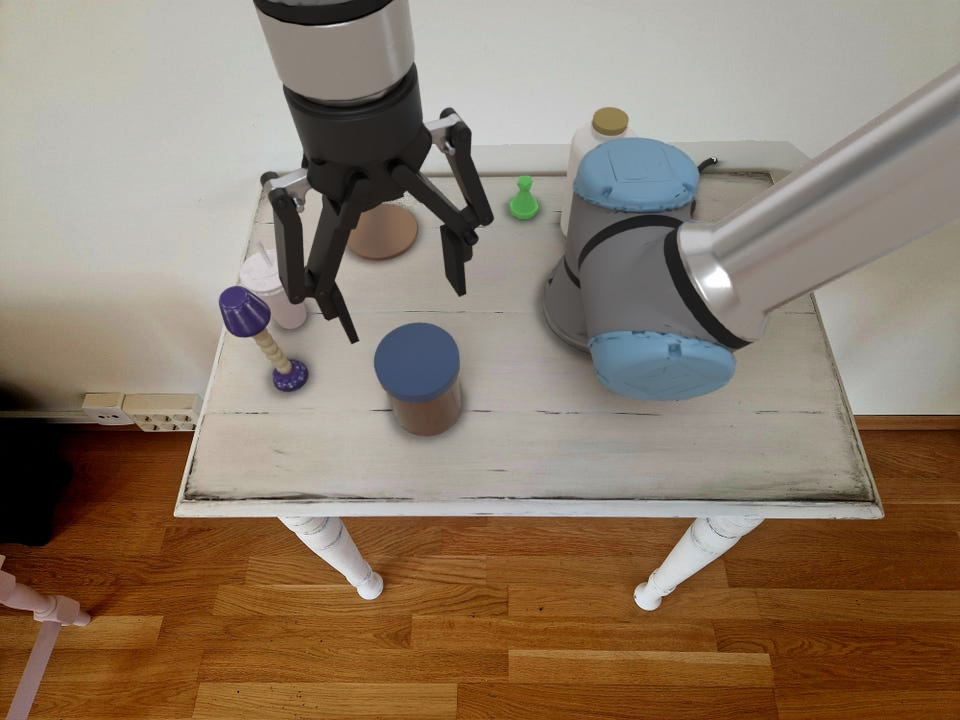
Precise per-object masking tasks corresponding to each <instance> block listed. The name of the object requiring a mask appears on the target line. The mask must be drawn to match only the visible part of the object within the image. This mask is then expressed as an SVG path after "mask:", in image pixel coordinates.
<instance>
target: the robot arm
mask: <svg viewBox="0 0 960 720" xmlns="http://www.w3.org/2000/svg"><path fill="white" fill-rule="evenodd" d="M252 3H253V5H254V8H255V12H256V14H257V18H258V21H259V23H260V26H261V29H262V32H263V35H264V39H265V41H266V44H267V47H268V50H269V54H270V56H271V59H272V63H273V65H274V68H275V71H276V73H277V76H278V79H279V80H280V81H281V82H282V91H283V95H284V98H285V101H286V103H287V107H288V109H289V112H290V115H291V118H292V121H293V124H294V127H295V129H296V133H297V135H298V138H299V141H300V144H301V147H302V159H301V161H300V162H301V163H300V168H298V169H296V170H293V171H290V172H289V173H287V174H284V175H281V176H280V175H279V174H278V173H277V172H275V171H270V170H268V171H265V172H264V173H263V174H261V176H260V177H259V182H260V184H261V187H262V189H263V191H264V194H265V195H266V197H267V199H268V201H269V203H270V205H271V208H272V219H273V228H274V229H273V230H274V239H275V249H276V252H277V263H278V273H279V279H280V282H281V284H282V286H283V289H284V291H285V293H286V295H287V297H288V299H289V302H290V303H291V304H294V305H297V304H300V303H302V302H303V303H304V301H306V299H314V300H315V302H316V304H317V306H318V308H319V310H320V313H321V315H322V316H323V319H324V320H326V321H327V322H330V321H332V320H334V319H337V318H338V321H339V322H340V325H341V326H342V328H343V330H344V333H345V334H346V336H347V340H349V343H350V344H351V345H354V344H357V343H358V342H360V337H359V335H358V333H357V331H356V328H355V325H354V322H353V320H352V317H351V314H350V312H349V310H348V309H349V308H348V306H347V304H346V301H345V299H344V296H343V293H342V291H341V290H340V287H339V286H338V284H337V282H336V278H337V275H338V272H339V270H340V267H341V263H342V261H343V257H344V254H345V251H346V247H347V242H348V239H349V236H350V233H351V230H355V229H356V227H357V225H358V222H359V219H360V216H361V212H362V213H363V212H366V211H369V210H371V209H374V208H375V207H377V206H378V205H380V204H384V203H388V202H394V201H398V200H400V199H403V198H405V193H406V192H407V193H408V194H409V195H411V196H412V198H414V199H415V200H416V201H417V202H418V203H419V204H422V205H423V206H424V207H426V208H427V209H428V210H429V211H430V212H431V213H432V214H433V215H434V216H436V218H438V219H439V220H440V221H441V222H442V223H443V224H441V225H439V232H440V241H441V248H442V250H441V251H442V258H443V267H444V274H445V278H446V280H447V281H448V283H449V284H450V286H451V287H452V289H453V290H454V292H455V294H456V295H457V297H458V298H461V297H464V296H465V295H467V283H466V282H467V280H466V269H465V268H466V267H465V263H467V262H470V261H472V259H473V256H474V251H473V250H474V249H473V247H474V246H475V245H477V244H478V242H479V240H480V237H479V235H478V233H477V232H476V231H475V230H476V229H478V228H479V227H480V226H482V227H488V226H490V225H491V224H492V223H493V222H494V220H495V215H494V213H493V210H492V207H491V205H490V203H489V200H488V196H487V193H486V192H485V188H484V186H483V183H482V181H481V177H480V176H479V173H478V170H477V168H476V165H475V161H474V160H473V157H472V141H473V140H472V138H473V133H472V130H471V128H470V127H469V126H468V125H467V123H466V122H465V121H464V120H463V118H462V117H461V116H460V115H459V113H458V112H457V111H456V109H454V108H453V107H450V106H449V107H445V108H443V109H442V111H441V112H440V114H439V119H436V120H432V121H428V122H424V113H423V106H422V105H423V104H422V97H421V90H420V81H419V74H418V68H417V64H416V62H415V59H416V47H415V39H414V32H413V24H412V17H411V11H410V4H409V0H252ZM433 145H435V147H437V149H438V150H439V151H440V153H442V154H444V155H445V158H446V160H447V162H448V165H449V166H450V169H451V172H452V174H453V176H454V179H455V181H456V184H457V186H458V188H459V190H460V193H461V195H462V197H463V199H464V202H465V204H466V206H465V207H463V208H462V209H459V208H458V207H457V206H456V205H455V204H454V203H453V202H452V201H451V200H450V199H449V198H448V197H447V196H446V195H445V194H444V193H443V192H442V191H441V190H440V189H439V188H438V187H437V186H436V185H435V184H434V183H433V182H432V181H431V180H430V179H429V178H428V177H427V176H426V175H425V174H424V173H423V172H422V171H421V169H422V167H423V165H424V163H425V161H426V159H427V157H428V155H429V153H430V151H431V149H432V146H433ZM708 158H709V159H708ZM708 158H706V159H707V160H706V159H705V160H703V161H702V162H701V163H700V164H699V165H696V163H695V161H694V160H693V159H692V158H691V157H690V156H689V154H687V153H686V152H685V151H683V150H682V149H680V148H679V147H677V146H674V145H672V144H668V143H665V142H663V141H662V140H658V139H653V138H649V137H639V136H638V137H629V138H619V139H614V140H610V141H607V142H604V143H601V144H599V145H598V146H596V147H595V148H594V149H592V150H590V151H589V152H587V153H586V155H585V156H584V157H583V158H582V160H581V162H580V164H579V166H578V170H577V175H576V178H575V179H574V181H573V190H574V191H573V198H572V204H571V211H570V218H569V225H568V232H567V238H566V237H565V238H566V240H565V248H564V254H563V255H562V257H561V258H560V259H559V261H558V262H557V264H556V265H555V267H554V268H553V269H552V271H551V272H550V273H549V276H548V277H547V279H546V282H545V285H544V290H543V298H542V307H543V314H544V316H545V320H546V321H547V323H548V325H549V327H550V329H551V330H552V331H553V332H554V334H556V335H557V337H559V338H560V339H561V340H562V341H563V342H565V343H567V344H568V345H569V346H571V347H573V348H575V349H577V350H579V351H582V352H584V353H588V354H591V359H592V363H593V364H592V365H593V368H594V373H595V376H596V378H597V380H598V382H599V383H600V384H601V385H602V386H603V387H604V388H605V389H607V391H610V392H611V393H612V394H615V395H618V396H620V397H623V398H627V399H631V400H635V401H636V400H637V401H642V402H643V401H644V402H675V401H683V400H689V399H694V398H697V397H702V396H705V395H708V394H710V393H713V392H716V391H718V390H720V389H721V388H723V387H725V386H726V385H727V384H729V382H730V381H731V379H733V378H734V376H735V373H736V366H737V364H736V363H737V358H736V357H735V355H734V353H736V352H738V351H739V350H741V349H743V348H745V347H747V346H749V345H751V344H753V343H755V342H758V341H759V340H761V339H762V338H764V336H765V334H766V332H767V328H768V326H769V325H768V324H769V322H770V319H771V315H772V314H773V313H775V312H776V311H777V310H780V309H782V308H784V307H786V306H788V305H789V304H790V305H791V303H793V302H795V301H798V300H800V299H802V298H804V297H807V296H808V295H810V294H811V293H813V292H816V291H818V290H820V289H822V288H823V287H825V286H828V285H830V284H832V283H833V282H835V281H838V280H840V279H841V278H843V277H846V276H847V275H849V274H852V273H853V272H855V271H857V270H860V269H861V268H863V267H865V266H867V265H870V264H872V263H873V262H875V261H878V260H879V259H882V258H883V257H885V256H888V255H889V254H891V253H893V252H895V251H897V250H900V249H902V248H903V247H905V246H908V245H909V244H911V243H913V242H916V241H917V240H919V239H921V238H923V237H925V236H927V235H929V234H931V233H932V232H935V231H937V230H939V229H941V228H943V227H945V226H946V225H949V224H950V223H953V222H955V221H956V220H958V219H960V61H958V62H957V63H956V64H955V65H953V66H951V67H950V68H949V69H947V70H945V71H944V72H943V73H941V74H939V75H938V76H936V77H934V78H933V79H931V80H930V81H928V82H927V83H925V84H924V85H923V86H921V87H920V88H918V89H916V90H915V91H914V92H912V93H910V94H909V95H907V96H906V97H904V98H903V99H901V100H900V101H898V102H897V103H895V104H893V105H892V106H890V107H889V108H887V109H886V110H884V111H883V112H881V113H880V114H878V115H877V116H876V117H874V118H873V119H871V120H870V121H868V122H867V123H865V124H863V125H862V126H861V127H859V128H857V129H856V130H854V131H853V132H851V133H849V135H847V136H845V137H843V138H842V139H841V140H839V141H838V142H836V143H834V144H833V145H831V146H829V148H827V149H826V150H824V151H823V152H820V154H818V155H817V156H815V157H814V158H812V159H811V160H809V161H807V162H805V163H804V164H803V165H801V166H799V167H798V168H797V169H795V170H794V171H792V172H791V173H789V174H788V175H786V176H785V177H783V178H782V179H780V180H778V181H777V182H775V183H774V184H772V185H771V186H770V187H768V188H766V189H765V190H764V191H762V192H760V193H759V194H757V195H756V196H754V197H752V199H751V198H750V200H748V201H747V202H745V203H744V204H742V205H741V206H739V207H738V208H736V209H735V210H733V211H732V212H730V213H728V214H727V215H726V216H723V218H721V219H720V220H718V221H717V222H709V221H708V222H707V221H701V220H695V219H692V215H694V212H695V211H696V206H697V201H696V198H697V195H698V194H699V184H700V174H701V173H702V172H703V170H705V169H706V168H708V167H709V166H711V165H712V164H714V165H715V164H717V163H718V162H719V160H718V158H717V157H716V161H715V162H714V159H712V158H711V157H708ZM311 189H312V190H314V191H315V192H317V193H319V194H321V203H322V206H321V207H322V208H321V210H320V214H319V218H318V222H317V226H316V230H315V233H314V236H313V240H312V244H311V248H310V250H309V254H308V258H307V262H306V265H305V251H304V248H305V247H304V229H303V222H302V218H301V216H300V214H301V213H303V212H304V211H305V205H306V202H307V201H306V194H307V193H308V192H309V191H310V190H311Z"/></svg>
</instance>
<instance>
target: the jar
mask: <svg viewBox="0 0 960 720" xmlns="http://www.w3.org/2000/svg"><path fill="white" fill-rule="evenodd" d="M385 392H386V391H385ZM386 395H387V398H388V401H389V403H390V406H391V410H392V412H393V414H394V417H395V420H396V422H397V423H398V425H399V426H400V427H401V428H402V429H403V430H405V431H406V432H408V433H410V434H411V435H414V436H418V437H433V436H437V435H441V434H442V433H444V432H446V431H448V430H449V429H450V428H451V427H452V426H454V424H455V423H456V421H458V419H459V417H460V414H461V411H462V395H461V387H460V379H459V376H458V377H457V379H456V381H455V383H454V384H453V385H452V387H451V388H450V389H449V390H448V391H447V392H446V393H444V394H443V395H441V396H440V397H438V398H436V399H434V400H431V401H427V402H422V403H408V402H403V401H400V400H398V399H396V398H394V397H392V396H391V395H389V394H388V393H387V392H386Z"/></svg>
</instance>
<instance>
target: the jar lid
mask: <svg viewBox="0 0 960 720" xmlns="http://www.w3.org/2000/svg"><path fill="white" fill-rule="evenodd" d="M373 368H374V372H375V375H376V377H377V380H378V382H379V384H380V386H381V388H382V389H383V390H384V391H385V392H387V393H388V394H389V395H391V396H392V397H394V398H396V399H398V400H400V401H403V402H408V403H422V402H427V401H431V400H434V399H436V398H438V397H440V396H441V395H443V394H444V393H446V392H447V391H448V390H449V389H450V388H451V387H452V385H453V384H454V383H455V381H456V379H457V377H459V373H460V369H461V359H460V349H459V347H458V344H457V341H456V340H455V339H454V337H453V336H452V335H451V334H450V333H449V332H448V331H447V330H446V329H444V328H442V327H440V326H438V325H436V324H433V323H430V322H429V323H428V322H419V321H418V322H410V323H406V324H403V325H399V326H398V327H396V328H394V329H392V330H391V331H389V332H388V333H387V334H386V335H384V337H383V338H382V339H381V340H380V342H379V343H378V344H377V347H376V348H375V351H374V355H373ZM387 393H386V394H387Z"/></svg>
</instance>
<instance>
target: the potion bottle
mask: <svg viewBox="0 0 960 720" xmlns="http://www.w3.org/2000/svg"><path fill="white" fill-rule="evenodd" d="M629 121H630V119H629V116H628V114H627V113H626V112H625V110H622V109H621V108H618V107H613V106H607V107H601V108H599V109H597V110H596V111H595V112H594V113H593V115H592V119H591V121H589V122H586V123H584V124H583V125H582V126H580V127H579V128H578V129H576V130H575V132H574V134H573V135H572V138H571V141H570V148H569V156H568V163H567V171H566V179H565V185H564V192H563V200H562V208H561V215H560V223H559V225H560V229H561V232H562V234H563V235H564V236H565V238H567V232H568V225H569V218H570V211H571V204H572V198H573V191H574V190H573V181H574V179H575V178H576V175H577V170H578V166H579V164H580V162H581V160H582V158H583V157H584V156H585V155H586V153H587V152H589V151H590V150H592V149H594V148H595V147H596V146H598V145H599V144H601V143H604V142H607V141H610V140H614V139H619V138H629V137H638V138H639V136H638V134H637V133H636V132H635V131H634V130H633V129H632V128H631V126H629Z"/></svg>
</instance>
